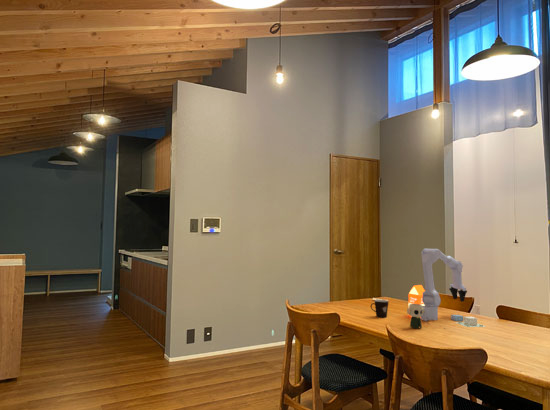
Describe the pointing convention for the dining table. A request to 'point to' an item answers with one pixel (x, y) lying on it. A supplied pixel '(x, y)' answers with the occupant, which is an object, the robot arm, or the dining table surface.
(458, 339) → the dining table surface
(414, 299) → the orange juice
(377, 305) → the coffee mug
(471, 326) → the baseplate
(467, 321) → the cream block
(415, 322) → the toy figurine
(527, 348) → the dining table surface
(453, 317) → the blue block
